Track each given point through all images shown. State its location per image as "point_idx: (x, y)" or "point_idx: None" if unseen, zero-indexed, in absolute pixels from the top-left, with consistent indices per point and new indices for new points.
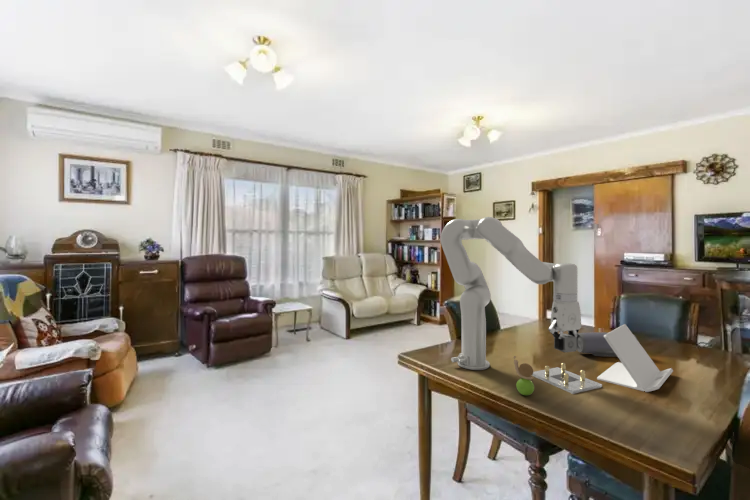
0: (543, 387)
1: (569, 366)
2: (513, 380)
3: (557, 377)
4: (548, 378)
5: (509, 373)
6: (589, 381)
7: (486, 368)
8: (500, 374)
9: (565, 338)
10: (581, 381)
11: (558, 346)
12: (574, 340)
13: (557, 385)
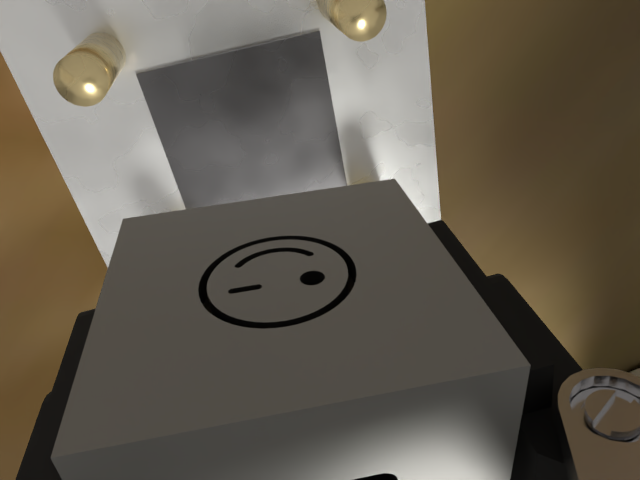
0: (532, 25)
1: (9, 396)
2: (627, 192)
3: (312, 156)
4: (403, 149)
5: (551, 304)
6: (41, 12)
7: (635, 371)
8: (618, 294)
9: (509, 362)
10: (133, 30)
11: (506, 280)
12: (153, 361)
13: (420, 7)
